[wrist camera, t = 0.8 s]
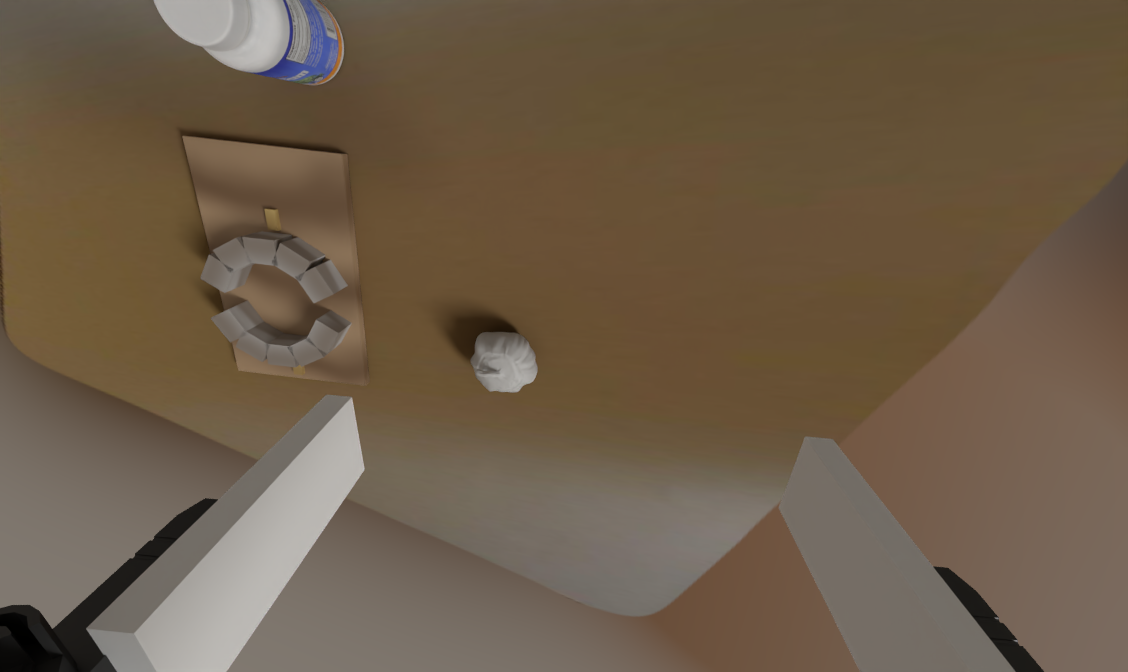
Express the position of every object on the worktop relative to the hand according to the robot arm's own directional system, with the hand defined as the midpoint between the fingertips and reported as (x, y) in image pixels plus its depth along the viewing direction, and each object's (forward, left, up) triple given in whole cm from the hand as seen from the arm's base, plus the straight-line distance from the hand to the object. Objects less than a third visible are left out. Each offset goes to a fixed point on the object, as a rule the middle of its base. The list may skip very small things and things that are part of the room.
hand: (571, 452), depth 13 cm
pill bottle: (-13, -21, -24) cm, 34 cm away
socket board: (+4, -25, -24) cm, 35 cm away
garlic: (+9, -6, -25) cm, 27 cm away
